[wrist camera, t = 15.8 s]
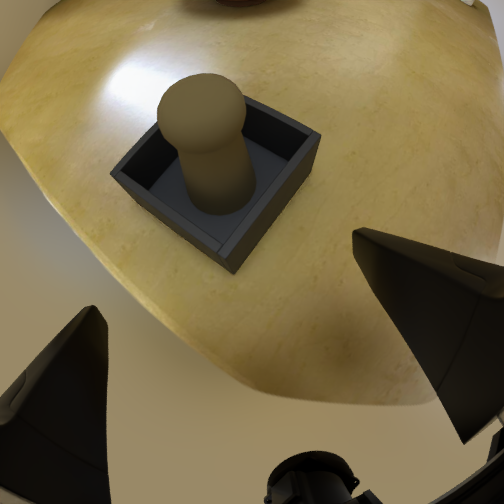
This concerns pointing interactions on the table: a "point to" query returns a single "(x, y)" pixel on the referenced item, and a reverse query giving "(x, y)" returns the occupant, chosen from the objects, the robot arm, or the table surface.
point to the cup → (468, 2)
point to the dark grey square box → (242, 221)
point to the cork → (209, 141)
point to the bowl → (239, 2)
